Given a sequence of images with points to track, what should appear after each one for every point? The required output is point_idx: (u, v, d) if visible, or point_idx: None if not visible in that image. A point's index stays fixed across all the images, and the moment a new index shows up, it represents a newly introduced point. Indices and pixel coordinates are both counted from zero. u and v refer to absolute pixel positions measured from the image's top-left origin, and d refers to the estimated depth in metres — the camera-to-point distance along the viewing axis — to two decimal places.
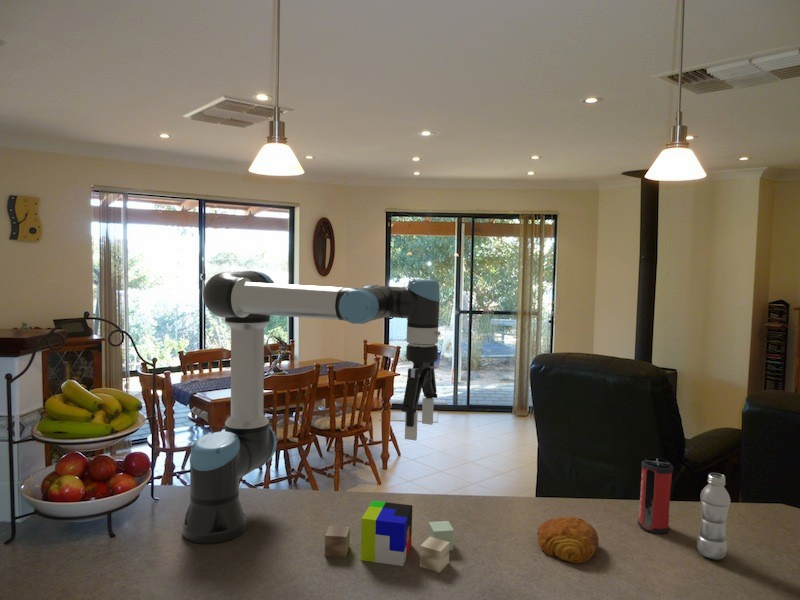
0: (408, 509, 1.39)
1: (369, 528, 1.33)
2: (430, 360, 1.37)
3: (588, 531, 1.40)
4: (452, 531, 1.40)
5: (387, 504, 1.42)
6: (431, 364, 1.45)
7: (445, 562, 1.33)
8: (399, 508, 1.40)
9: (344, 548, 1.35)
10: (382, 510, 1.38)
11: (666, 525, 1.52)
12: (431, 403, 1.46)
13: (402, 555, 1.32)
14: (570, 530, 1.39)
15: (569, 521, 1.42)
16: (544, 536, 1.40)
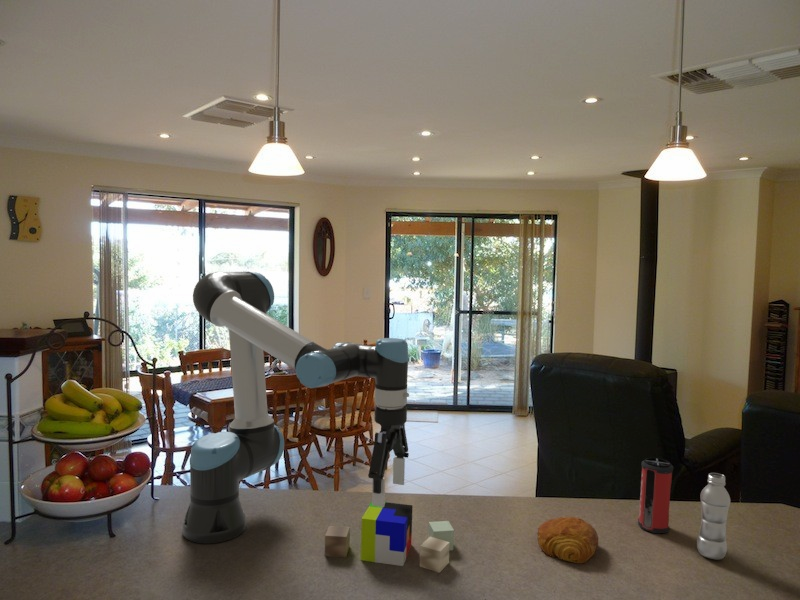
0: (408, 509, 1.39)
1: (369, 528, 1.33)
2: (398, 423, 1.33)
3: (588, 531, 1.40)
4: (452, 531, 1.40)
5: (387, 504, 1.42)
6: (401, 423, 1.41)
7: (445, 562, 1.33)
8: (399, 508, 1.40)
9: (344, 548, 1.35)
10: (382, 510, 1.38)
11: (666, 525, 1.52)
12: (402, 463, 1.42)
13: (402, 555, 1.32)
14: (569, 530, 1.39)
15: (569, 521, 1.42)
16: (544, 536, 1.40)
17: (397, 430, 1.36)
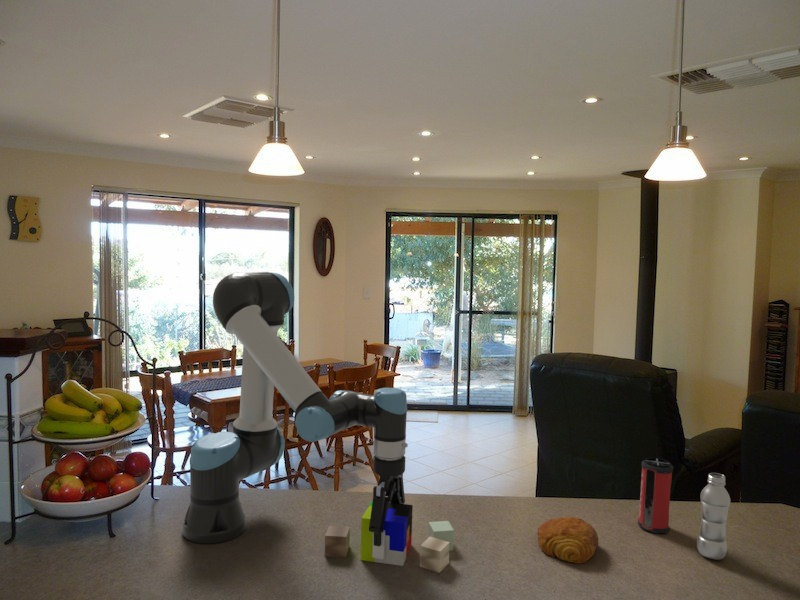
0: (408, 509, 1.39)
1: None
2: (397, 474, 1.33)
3: (588, 531, 1.40)
4: (452, 531, 1.40)
5: None
6: None
7: (445, 562, 1.33)
8: (399, 507, 1.40)
9: (344, 548, 1.35)
10: None
11: (666, 525, 1.52)
12: None
13: (402, 555, 1.32)
14: (569, 530, 1.39)
15: (569, 521, 1.42)
16: (544, 536, 1.40)
17: (395, 479, 1.37)
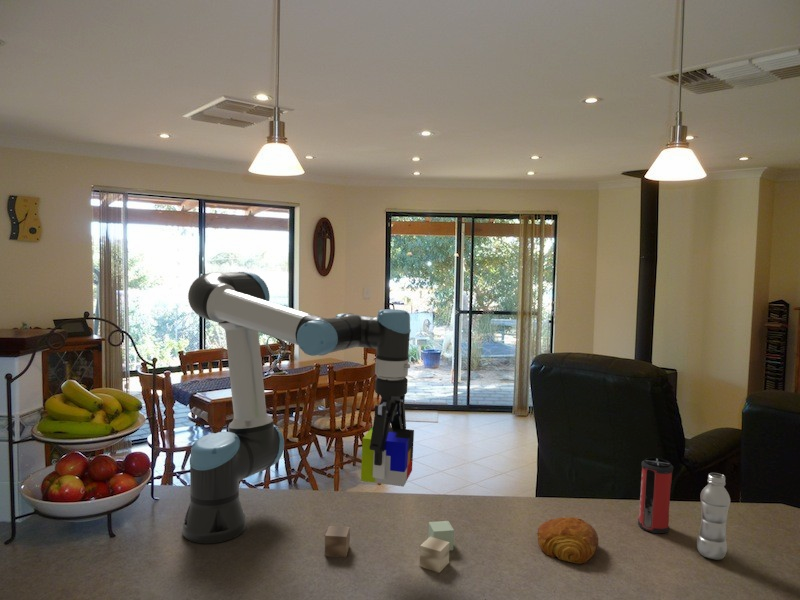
0: (409, 433, 1.38)
1: (369, 448, 1.32)
2: (399, 394, 1.32)
3: (588, 531, 1.39)
4: (452, 531, 1.40)
5: (389, 428, 1.40)
6: (401, 397, 1.41)
7: (445, 562, 1.33)
8: (400, 431, 1.38)
9: (344, 548, 1.35)
10: None
11: (666, 525, 1.52)
12: None
13: (403, 475, 1.31)
14: (569, 530, 1.39)
15: (569, 521, 1.42)
16: (544, 537, 1.40)
17: (397, 402, 1.36)
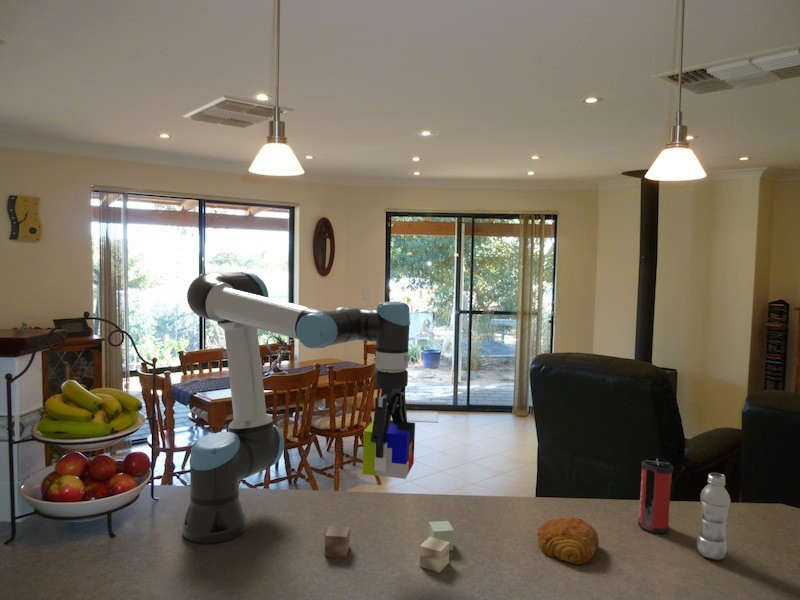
0: (410, 425, 1.37)
1: None
2: (399, 386, 1.32)
3: (588, 532, 1.39)
4: (452, 531, 1.40)
5: (390, 421, 1.40)
6: (402, 390, 1.40)
7: (445, 562, 1.33)
8: (401, 424, 1.38)
9: (344, 548, 1.35)
10: None
11: (666, 525, 1.52)
12: None
13: (404, 467, 1.31)
14: (569, 530, 1.38)
15: (569, 522, 1.42)
16: (544, 537, 1.40)
17: (398, 394, 1.36)
